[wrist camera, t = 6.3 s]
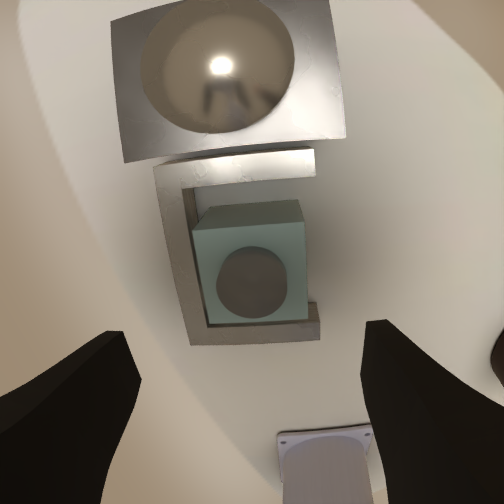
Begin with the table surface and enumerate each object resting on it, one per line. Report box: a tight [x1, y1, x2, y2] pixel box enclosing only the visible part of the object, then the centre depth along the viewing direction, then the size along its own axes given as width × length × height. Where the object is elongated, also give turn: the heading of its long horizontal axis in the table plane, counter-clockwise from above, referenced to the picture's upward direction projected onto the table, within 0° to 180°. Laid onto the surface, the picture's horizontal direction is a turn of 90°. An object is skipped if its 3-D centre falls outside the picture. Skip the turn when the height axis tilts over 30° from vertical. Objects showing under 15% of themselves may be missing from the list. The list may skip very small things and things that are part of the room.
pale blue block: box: [192, 200, 308, 324], centre depth 15 cm, size 4×4×5 cm
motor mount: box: [111, 0, 346, 345], centre depth 13 cm, size 16×8×7 cm, turn 6°
